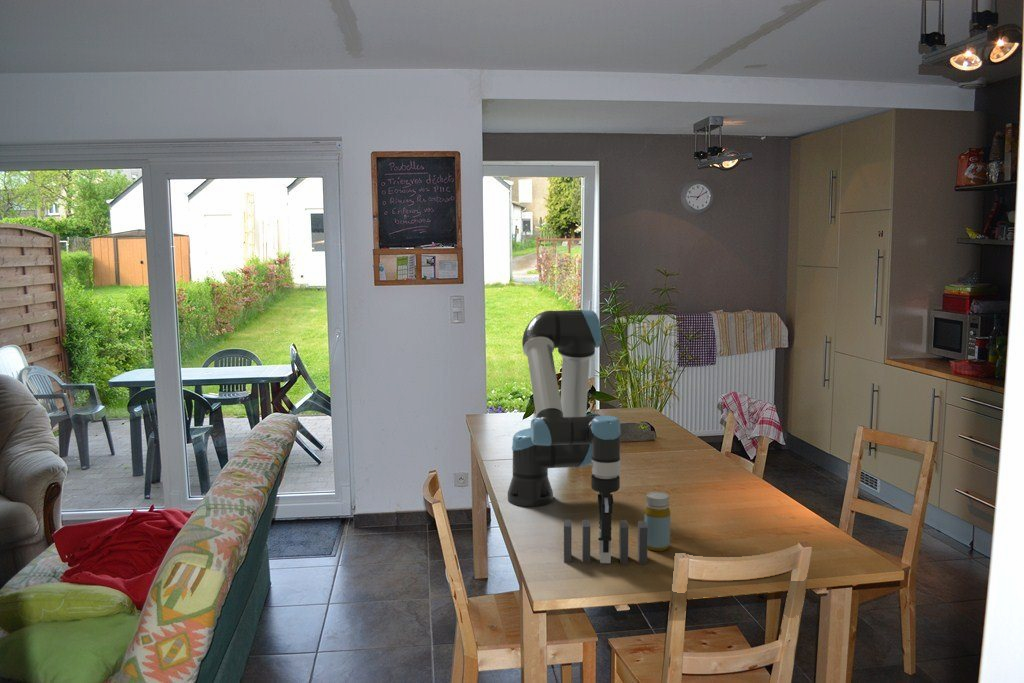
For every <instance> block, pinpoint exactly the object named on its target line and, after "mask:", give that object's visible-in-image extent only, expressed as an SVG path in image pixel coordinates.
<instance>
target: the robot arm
mask: <svg viewBox="0 0 1024 683" xmlns="http://www.w3.org/2000/svg"><path fill="white" fill-rule="evenodd" d="M602 340H603V339H602V329H601V323H600V320H599V317H598V314H597V313H596V312H595V311H594V310H590V309H589V310H588V309H587V310H586V309H585V310H584V309H571V310H569V309H568V310H552V309H551V310H545V311H543V312H540V313H538V314H537V315H535V316H534V317H533V318H532V319H531V320H530V321H529V322H528V323H527V326H526V327H525V329H524V332H523V334H522V343H521V344H522V352H523V354H524V355H525V356H526V357H527V363H528V369H529V375H530V382H531V389H532V396H533V404H534V410H535V417H536V418H532V419H531V421H530V427H528V428H524V429H521V430H519V431H517V432H516V433H514V435H513V437H512V445H511V451H512V477H511V481H510V484H509V487H508V491H507V501H508V502H509V503H510V504H512V505H517V506H520V507H540V506H545V505H549V504H550V503H552V502H553V501H554V490H553V489H552V486H551V483H550V479H549V475H548V474H549V471H548V470H549V469H560V468H561V469H566V468H576V469H578V468H581V467H582V468H583V467H587V466H590V467H591V474H592V475H591V477H590V478H591V479H590V480H591V481H590V484H591V486H590V487H591V489H592V490H593V491H595V492H597V493H598V494H597V503H598V513H599V514H598V515H599V517H598V524H599V526H598V527H599V530H598V531H599V536H598V543H599V544H598V545H599V546H598V547H599V548H598V554H599V555H600V556H599V561H600V562H599V563H600V564H611V563H612V562H611V560H612V559H611V557H612V556H611V553H612V545H611V544H612V539H613V538H612V529H613V528H612V514H613V504H614V497H613V494H612V493H615V492H618V491H619V490H620V486H621V485H620V484H621V477H620V474H621V435H622V429H621V421H620V419H619V418H618V417H616V416H613V415H605V414H604V415H601V414H599V413H595V412H593V413H589V414H587V412H588V410H587V408H588V407H587V406H588V392H589V375H590V373H589V372H590V358H591V357H593V356H594V355H595V354H596V348H600V347H601V346H602ZM555 349H557V352H558V354H559V355H561V357H562V360H561V361H562V362H561V383H560V384H561V385H560V388H559V384H558V383H559V382H558V379H557V378H558V376H557V372H556V366H555V361H554V354H553V353H554V351H555Z"/></svg>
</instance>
